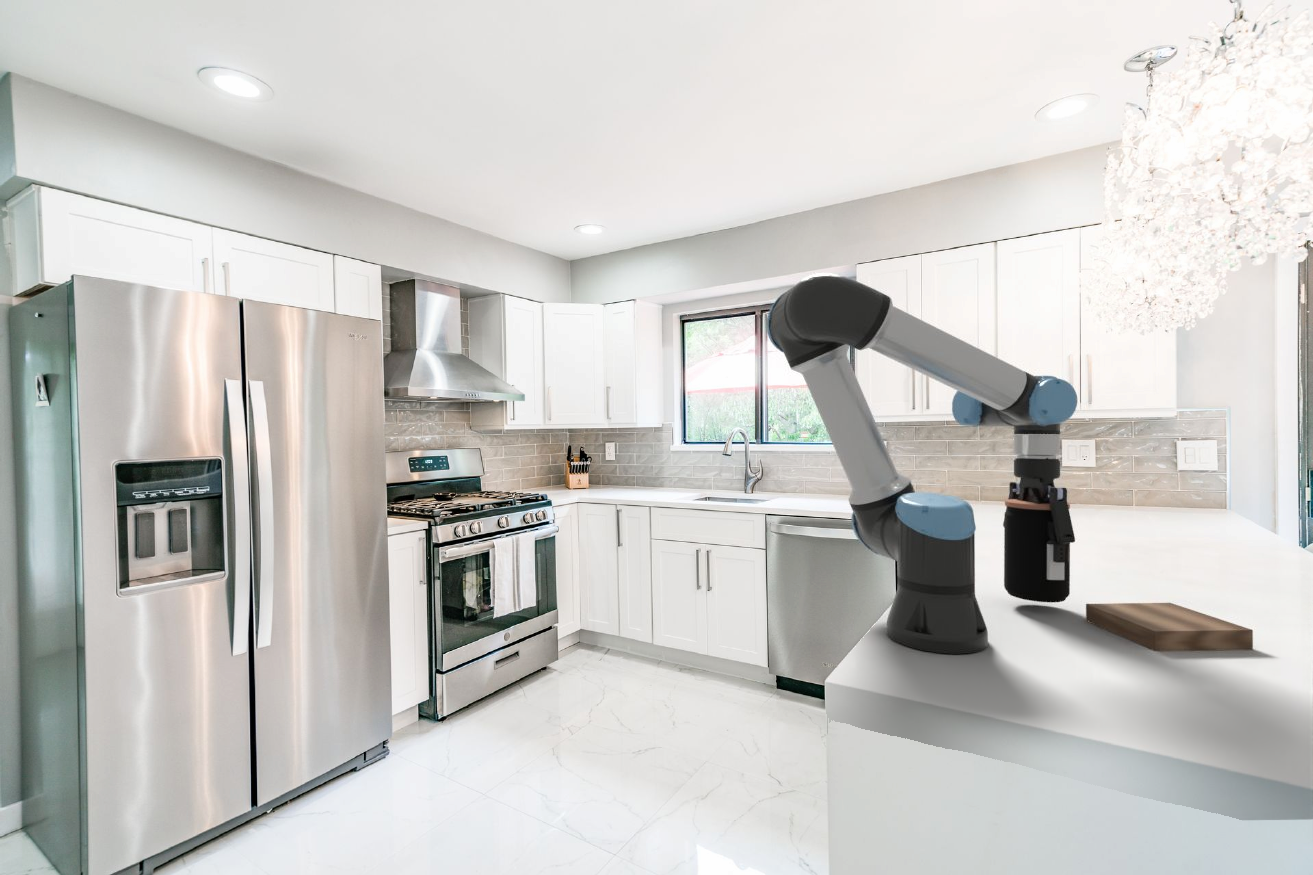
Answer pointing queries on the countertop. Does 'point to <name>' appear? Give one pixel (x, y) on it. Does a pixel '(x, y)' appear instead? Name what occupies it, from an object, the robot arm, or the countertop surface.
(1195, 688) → the countertop surface
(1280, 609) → the countertop surface
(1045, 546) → the coffee jar
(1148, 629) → the walnut riser
